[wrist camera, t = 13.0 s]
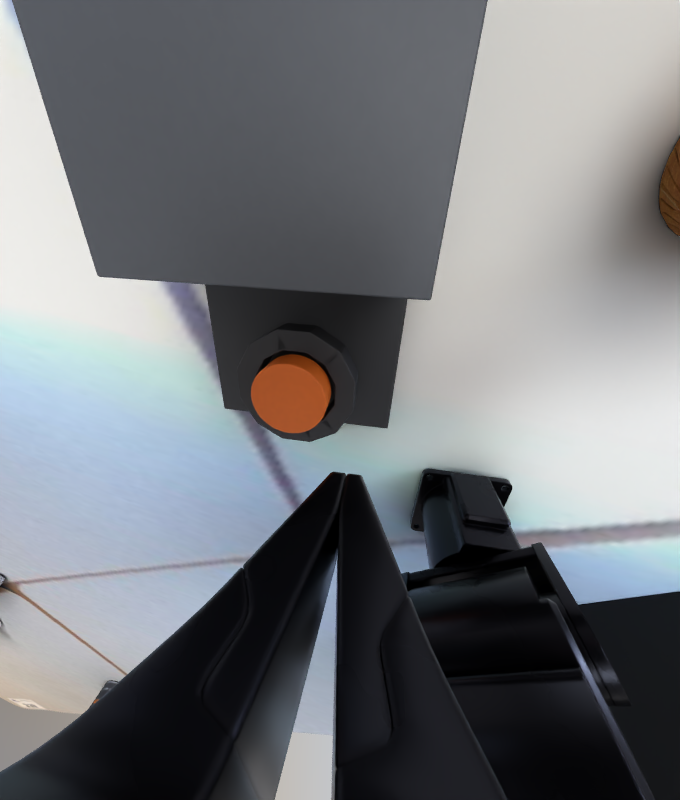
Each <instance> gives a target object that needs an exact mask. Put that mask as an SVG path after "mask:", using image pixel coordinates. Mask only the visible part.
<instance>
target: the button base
mask: <svg viewBox="0 0 680 800" xmlns="http://www.w3.org/2000/svg"><path fill="white" fill-rule="evenodd" d="M205 286H206V293H207V299H208V306H209V312H210V318H211V325H212V331H213V337H214V344H215V350H216V356H217V363H218V369H219V375H220V382H221V388H222V394H223V401H224V407H225V408H226V409H234V410H242V411H249V412H250V413H251V414H252V416H253V417H254V419H255V420H256V422H257V423H258V424H260V425H262V426H263V427H265V428H267V429H268V430H270V431H271V432H273V433H275V434H276V435H278V436H280V437H281V438H285V439H292V440H300V441H307V442H310V441H314V440H317V439H320V438H323V437H325V436H328V435H331V434H334V433H336V432H337V431H338V430H339V429H340V427H341V426H342V425H343V424H344V423H348V424H356V425H364V426H372V427H380V428H387V427H388V422H389V415H390V409H391V402H392V396H393V389H394V383H395V377H396V370H397V364H398V357H399V351H400V344H401V338H402V331H403V325H404V318H405V312H406V305H407V299H404V298H390V297H376V296H362V295H348V294H334V293H320V292H306V291H292V290H278V289H264V288H250V287H236V286H222V285H208V284H205ZM289 354H294V355H301V356H304V357H307V358H309V359H311V360H313V361H314V362H316V363H317V364H318V365H319V366H320V367H321V368H322V369H323V370H324V371H325V373H326V375H327V376H328V379H329V381H330V385H331V398H330V402H329V404H328V407H327V409H326V411H325V414H324V416H323V418H322V420H321V421H320V422H319V423H318V424H317V425H316V426H315V427H314V428H312V429H310V430H308V431H305V432H301V433H287V432H283V431H280V430H277V429H275V428H273V427H271V426H270V425H268V424H267V423H266V422H265V421H264V420H263V419H262V418H261V417H260V416H259V415H258V413H257V412H256V410H255V408H254V406H253V403H252V398H251V387H252V383H253V381H254V378H255V377H256V375H257V374H258V373H259V372H260V371H261V370H262V369H263V368H265V367H266V366H267V365H268V364H269V363H270V362H272V361H273V360H274V359H276V358H278V357H280V356H283V355H289Z"/></svg>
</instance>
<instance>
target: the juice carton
mask: <svg viewBox="0 0 680 800" xmlns="http://www.w3.org/2000/svg"><path fill="white" fill-rule="evenodd" d="M4 580H5V578H4V577H3V576H1V575H0V585H1V584H2V583H3V581H4Z"/></svg>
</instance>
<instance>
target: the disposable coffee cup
mask: <svg viewBox="0 0 680 800" xmlns="http://www.w3.org/2000/svg"><path fill="white" fill-rule="evenodd" d="M659 204H660V211H661V215H662V216H663V218H664V220H665V222H666V224H667V226H668V227H669V228H670V229H671V230H672V231H673V232H674V233H675V234H677V235H678V236H680V138H679V140H678V142H677V143H676V145H675V147H674V149H673V151H672V152H671V154H670V156H669V158H668V161H667V164H666V166H665V169H664V172H663V174H662V178H661V183H660V191H659Z"/></svg>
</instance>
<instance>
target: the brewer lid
mask: <svg viewBox="0 0 680 800" xmlns="http://www.w3.org/2000/svg"><path fill="white" fill-rule="evenodd" d="M487 1H488V0H12V2H13V5H14V8H15V11H16V14H17V18H18V21H19V24H20V27H21V30H22V34H23V37H24V40H25V43H26V47H27V50H28V53H29V56H30V59H31V63H32V66H33V69H34V72H35V76H36V79H37V82H38V85H39V88H40V92H41V95H42V98H43V101H44V105H45V108H46V111H47V114H48V117H49V121H50V124H51V127H52V130H53V134H54V137H55V140H56V143H57V146H58V150H59V153H60V156H61V159H62V162H63V166H64V169H65V172H66V175H67V179H68V182H69V185H70V188H71V191H72V195H73V198H74V201H75V204H76V208H77V211H78V214H79V217H80V220H81V224H82V227H83V230H84V233H85V237H86V240H87V243H88V246H89V249H90V253H91V256H92V259H93V262H94V266H95V269H96V272H97V275H98V276H99V277H110V278H124V279H138V280H152V281H166V282H180V283H194V284H208V285H222V286H236V287H250V288H264V289H278V290H292V291H306V292H320V293H334V294H348V295H362V296H376V297H390V298H404V299H418V300H430V299H431V296H432V291H433V285H434V280H435V275H436V270H437V264H438V259H439V254H440V248H441V243H442V238H443V233H444V227H445V222H446V217H447V212H448V206H449V201H450V196H451V191H452V185H453V180H454V175H455V169H456V164H457V159H458V154H459V148H460V143H461V138H462V133H463V127H464V122H465V117H466V112H467V106H468V101H469V96H470V90H471V85H472V80H473V75H474V69H475V64H476V59H477V54H478V48H479V43H480V38H481V32H482V27H483V22H484V17H485V11H486V6H487Z"/></svg>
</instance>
